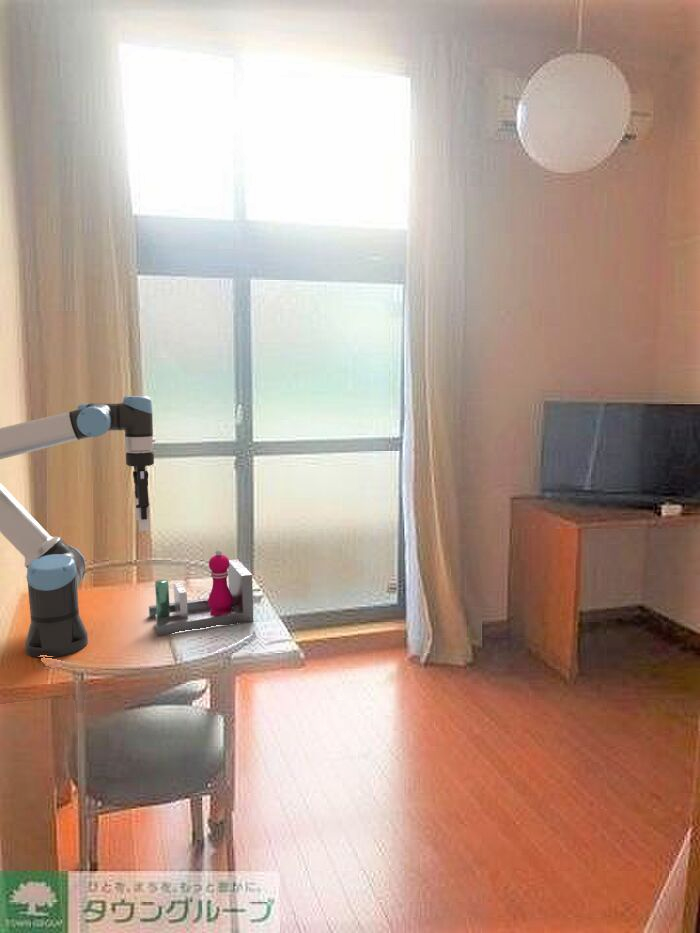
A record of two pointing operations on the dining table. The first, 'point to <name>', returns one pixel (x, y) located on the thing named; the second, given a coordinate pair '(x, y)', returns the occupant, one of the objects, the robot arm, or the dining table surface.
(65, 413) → the robot arm
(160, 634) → the frame
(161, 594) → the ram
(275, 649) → the dining table surface
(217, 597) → the pepper mill
